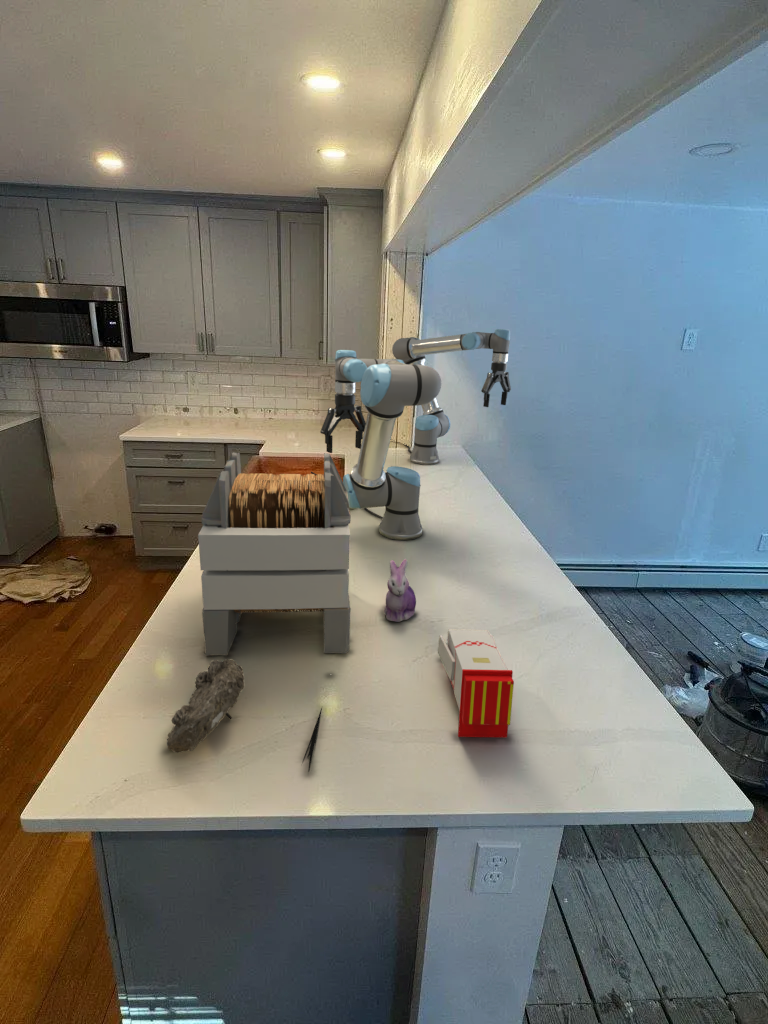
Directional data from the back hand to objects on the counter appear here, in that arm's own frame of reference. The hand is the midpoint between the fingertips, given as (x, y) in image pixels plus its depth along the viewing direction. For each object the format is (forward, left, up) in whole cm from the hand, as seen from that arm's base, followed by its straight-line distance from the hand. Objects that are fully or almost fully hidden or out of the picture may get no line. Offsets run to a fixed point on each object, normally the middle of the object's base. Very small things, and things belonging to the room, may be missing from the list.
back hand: (494, 405), depth 285 cm
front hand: (+70, -76, -8) cm, 103 cm away
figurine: (+152, -61, -31) cm, 167 cm away
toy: (+184, -50, -31) cm, 193 cm away
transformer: (+154, -91, -31) cm, 182 cm away
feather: (+192, -80, -31) cm, 210 cm away
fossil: (+191, -101, -31) cm, 218 cm away
